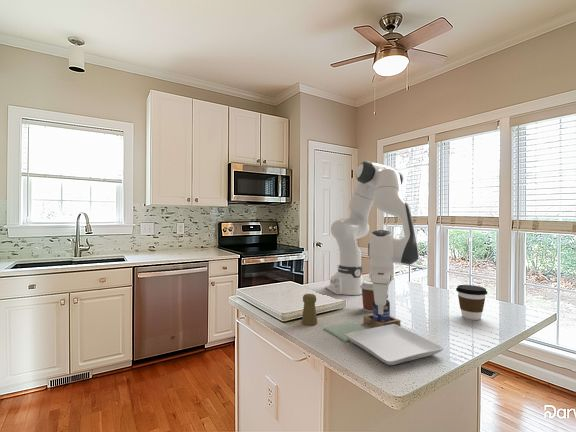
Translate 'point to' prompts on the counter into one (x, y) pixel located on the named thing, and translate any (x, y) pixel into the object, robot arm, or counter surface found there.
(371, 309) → the coffee cup
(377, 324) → the walnut collar
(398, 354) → the salad plate
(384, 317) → the pill bottle
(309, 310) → the cork
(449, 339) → the counter surface
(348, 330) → the sage mat
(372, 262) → the robot arm
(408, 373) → the counter surface
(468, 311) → the coffee cup
